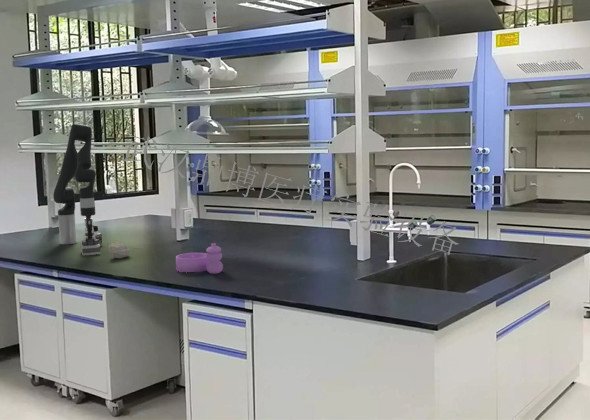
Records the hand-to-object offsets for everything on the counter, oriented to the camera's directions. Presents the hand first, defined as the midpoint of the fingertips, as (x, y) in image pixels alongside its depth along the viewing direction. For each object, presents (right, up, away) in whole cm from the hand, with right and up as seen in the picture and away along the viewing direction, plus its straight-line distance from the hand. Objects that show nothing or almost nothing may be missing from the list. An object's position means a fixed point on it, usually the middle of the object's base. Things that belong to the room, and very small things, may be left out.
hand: (89, 237), depth 346 cm
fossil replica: (+20, -10, -15) cm, 27 cm away
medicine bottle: (-5, -6, +22) cm, 24 cm away
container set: (+67, -13, -51) cm, 85 cm away
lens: (0, -2, 0) cm, 2 cm away
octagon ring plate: (0, -8, +1) cm, 8 cm away
